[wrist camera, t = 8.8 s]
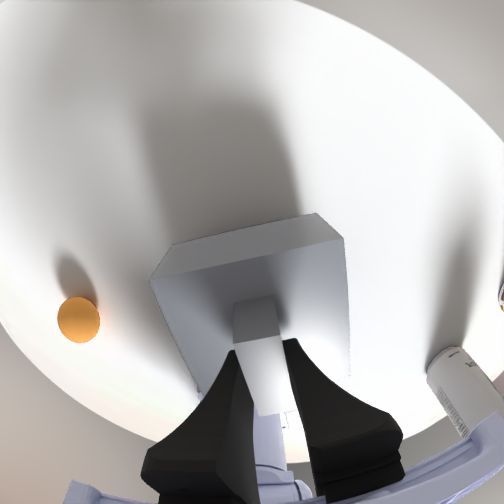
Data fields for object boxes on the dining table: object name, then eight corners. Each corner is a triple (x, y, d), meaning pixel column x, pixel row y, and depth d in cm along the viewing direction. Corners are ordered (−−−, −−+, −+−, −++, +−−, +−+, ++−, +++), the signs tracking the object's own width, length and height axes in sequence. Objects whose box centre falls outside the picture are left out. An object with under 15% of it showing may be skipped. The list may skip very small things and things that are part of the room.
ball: (113, 334, 21) (77, 357, 18) (98, 322, 23) (66, 342, 20) (94, 293, 19) (54, 315, 16) (81, 285, 22) (47, 304, 19)
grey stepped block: (330, 330, 20) (364, 412, 12) (212, 354, 20) (203, 441, 13) (316, 212, 16) (371, 265, 9) (172, 244, 17) (126, 315, 9)
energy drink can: (464, 356, 26) (522, 431, 12) (429, 386, 27) (479, 469, 13) (455, 334, 24) (527, 418, 10) (417, 368, 25) (476, 464, 11)
